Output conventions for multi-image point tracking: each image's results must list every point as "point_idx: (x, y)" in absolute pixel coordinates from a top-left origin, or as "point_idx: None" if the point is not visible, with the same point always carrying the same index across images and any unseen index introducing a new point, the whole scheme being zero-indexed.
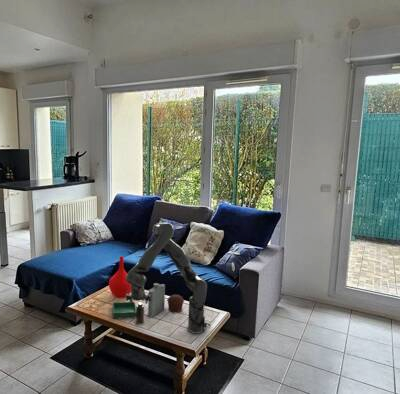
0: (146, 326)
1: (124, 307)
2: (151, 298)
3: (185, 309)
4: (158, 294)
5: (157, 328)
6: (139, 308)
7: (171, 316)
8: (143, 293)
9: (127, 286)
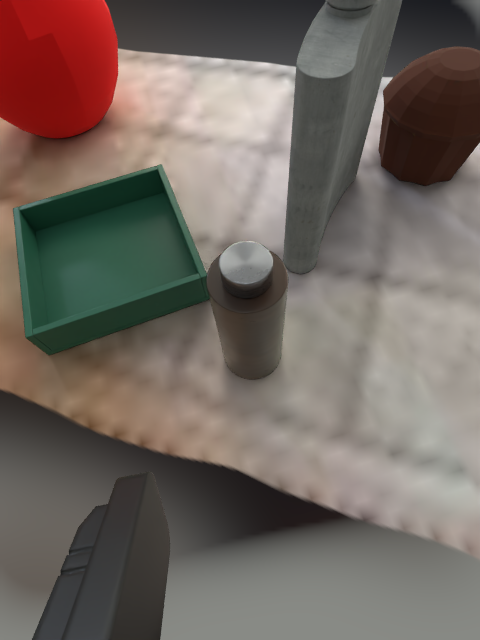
0: (319, 397)
1: (106, 218)
2: (328, 151)
3: None
4: (360, 82)
5: (413, 401)
6: (250, 318)
7: (433, 228)
8: None
9: (73, 51)
